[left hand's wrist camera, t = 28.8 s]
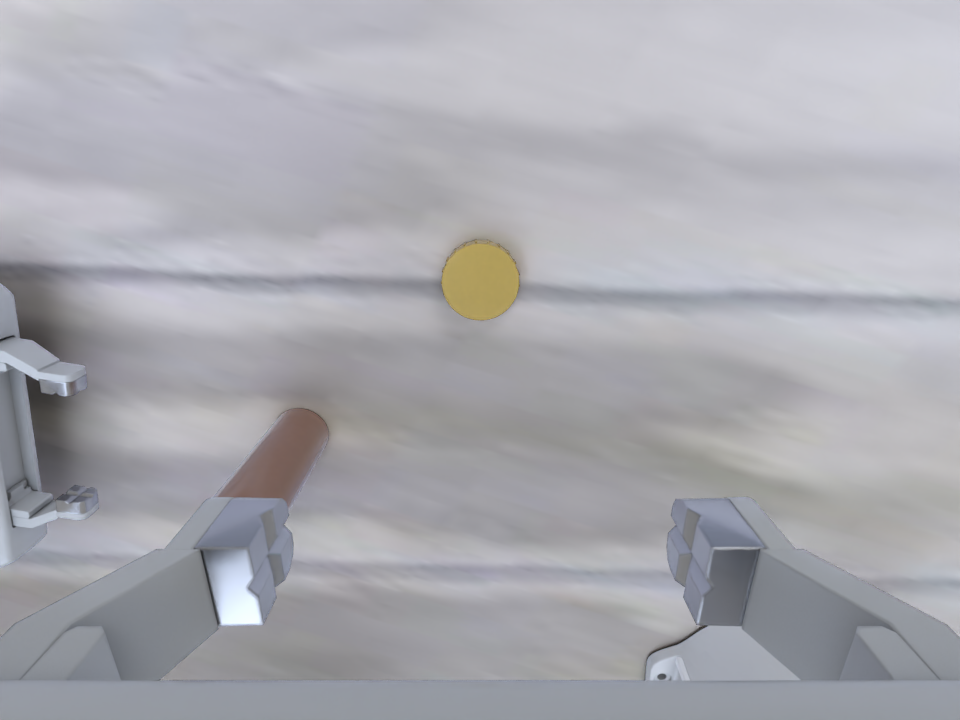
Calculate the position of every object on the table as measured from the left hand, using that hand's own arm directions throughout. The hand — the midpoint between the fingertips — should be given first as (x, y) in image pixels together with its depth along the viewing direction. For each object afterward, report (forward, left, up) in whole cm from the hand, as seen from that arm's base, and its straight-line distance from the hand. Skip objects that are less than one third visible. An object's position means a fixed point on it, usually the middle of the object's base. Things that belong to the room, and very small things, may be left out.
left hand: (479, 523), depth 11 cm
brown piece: (-14, +12, -27) cm, 32 cm away
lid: (0, 0, -25) cm, 25 cm away
